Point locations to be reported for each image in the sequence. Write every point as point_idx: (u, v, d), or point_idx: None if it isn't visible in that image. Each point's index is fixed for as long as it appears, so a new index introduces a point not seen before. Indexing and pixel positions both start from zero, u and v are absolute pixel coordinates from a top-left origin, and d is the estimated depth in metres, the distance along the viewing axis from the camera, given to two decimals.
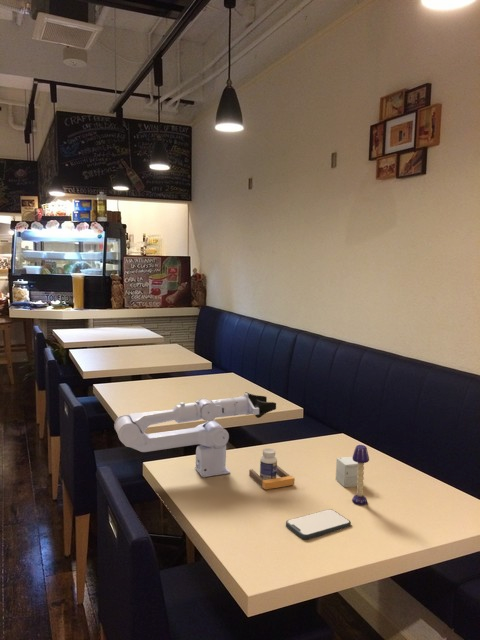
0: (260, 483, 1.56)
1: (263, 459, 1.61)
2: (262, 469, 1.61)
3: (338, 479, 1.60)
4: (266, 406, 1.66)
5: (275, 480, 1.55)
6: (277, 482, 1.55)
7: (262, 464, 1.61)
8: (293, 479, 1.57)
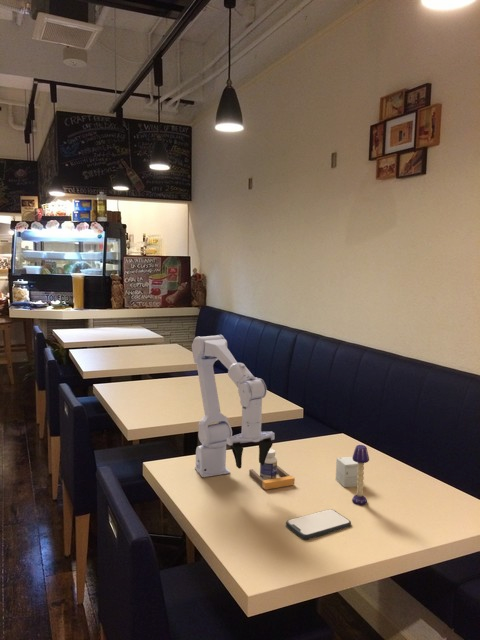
0: (260, 483, 1.56)
1: None
2: (262, 469, 1.61)
3: (338, 479, 1.60)
4: None
5: (275, 480, 1.55)
6: (277, 482, 1.55)
7: None
8: (293, 479, 1.57)
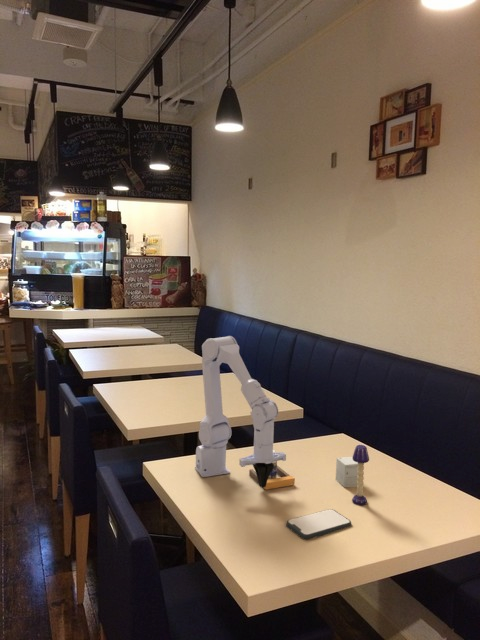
0: None
1: None
2: None
3: (338, 479, 1.60)
4: None
5: (275, 480, 1.55)
6: (278, 482, 1.55)
7: None
8: (293, 479, 1.57)
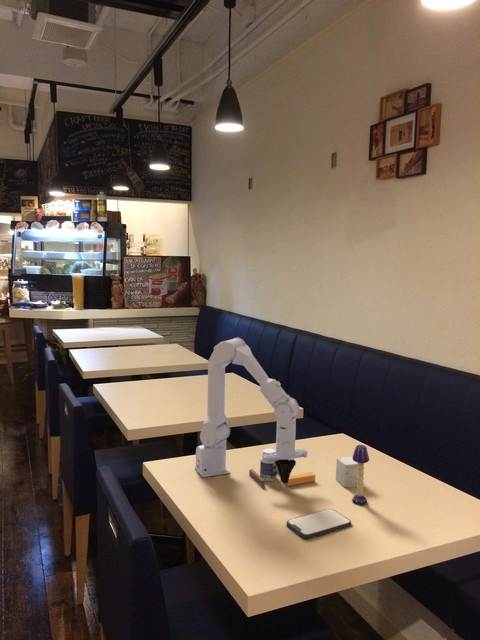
0: (260, 483, 1.56)
1: None
2: (262, 469, 1.61)
3: (338, 479, 1.60)
4: (282, 471, 1.55)
5: (297, 476, 1.58)
6: (299, 478, 1.58)
7: (262, 464, 1.61)
8: (314, 475, 1.60)
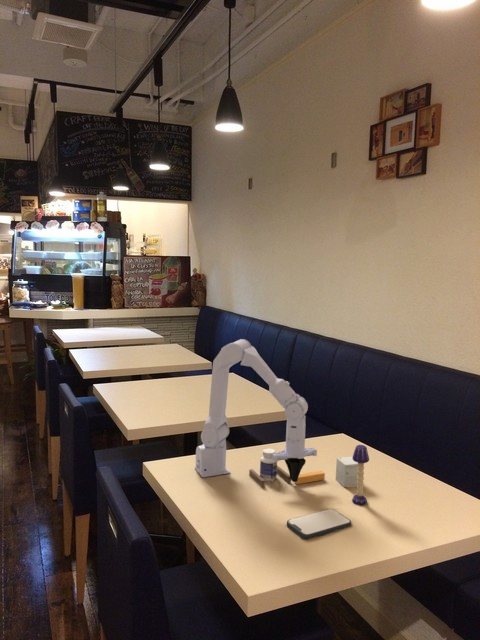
0: (260, 483, 1.56)
1: (263, 459, 1.61)
2: (262, 469, 1.61)
3: (338, 479, 1.60)
4: None
5: (306, 475, 1.60)
6: (308, 476, 1.59)
7: (262, 464, 1.61)
8: (323, 474, 1.62)
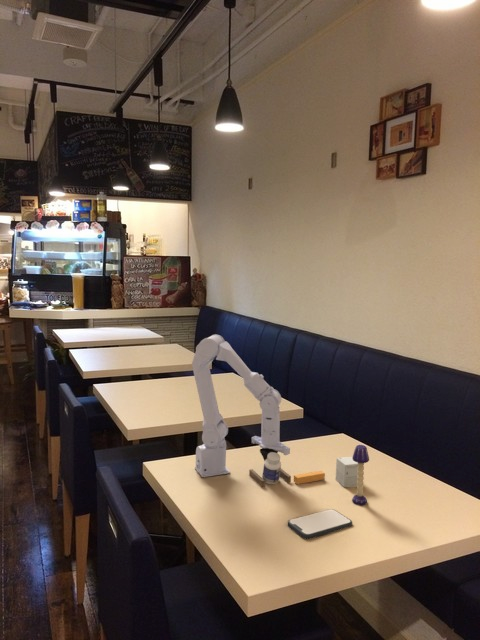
0: (260, 483, 1.56)
1: (267, 464, 1.57)
2: (265, 473, 1.58)
3: (338, 479, 1.60)
4: None
5: (306, 475, 1.60)
6: (309, 476, 1.59)
7: (265, 469, 1.57)
8: (323, 474, 1.62)
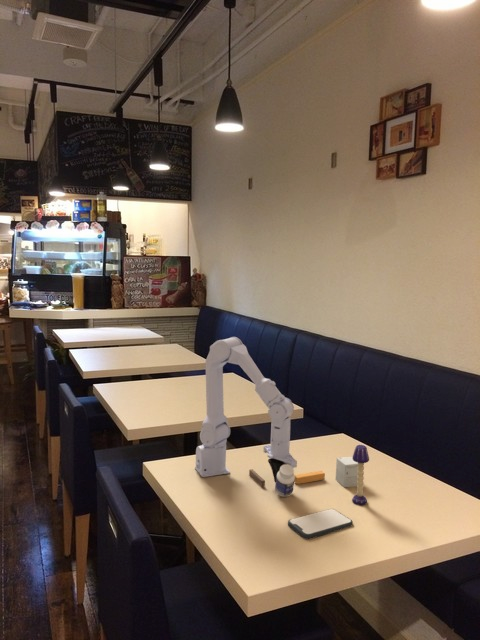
0: (260, 483, 1.56)
1: (278, 476, 1.48)
2: (276, 484, 1.49)
3: (338, 479, 1.60)
4: None
5: (306, 475, 1.60)
6: (309, 476, 1.59)
7: (277, 480, 1.48)
8: (323, 474, 1.62)
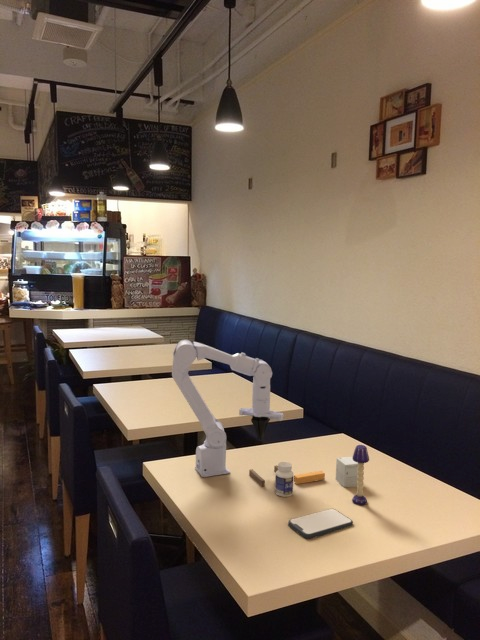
0: (260, 483, 1.56)
1: (277, 472, 1.51)
2: (275, 483, 1.51)
3: (338, 479, 1.60)
4: None
5: (306, 475, 1.60)
6: (309, 476, 1.59)
7: (276, 477, 1.51)
8: (323, 474, 1.62)
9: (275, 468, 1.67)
